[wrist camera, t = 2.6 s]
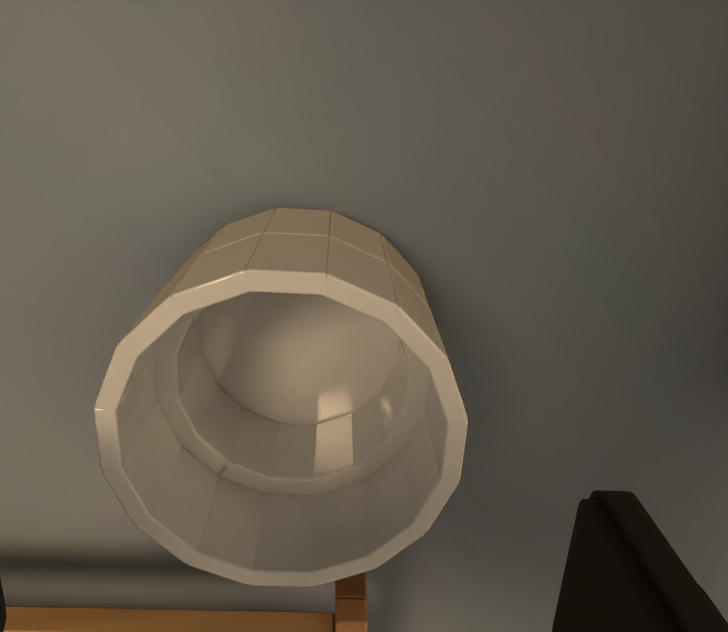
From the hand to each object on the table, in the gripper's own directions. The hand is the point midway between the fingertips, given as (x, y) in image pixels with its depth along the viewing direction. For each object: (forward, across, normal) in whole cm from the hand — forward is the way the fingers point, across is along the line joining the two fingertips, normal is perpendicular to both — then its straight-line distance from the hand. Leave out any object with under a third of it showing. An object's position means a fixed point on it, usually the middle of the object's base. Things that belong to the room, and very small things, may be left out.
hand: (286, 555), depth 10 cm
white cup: (+7, 0, -1) cm, 8 cm away
